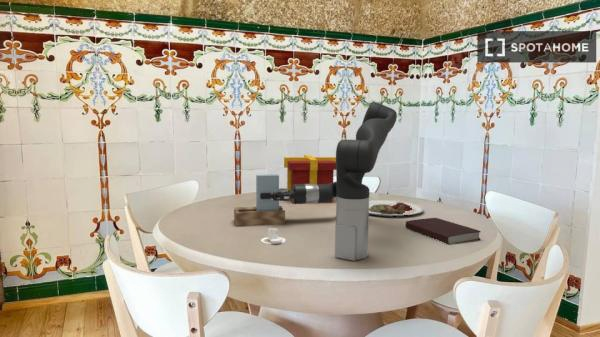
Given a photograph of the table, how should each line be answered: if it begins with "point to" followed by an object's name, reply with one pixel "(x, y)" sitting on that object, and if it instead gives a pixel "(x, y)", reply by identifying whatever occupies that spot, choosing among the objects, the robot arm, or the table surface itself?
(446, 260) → the table surface
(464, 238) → the book
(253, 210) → the slot box
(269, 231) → the teacup and saucer
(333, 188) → the robot arm
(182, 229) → the table surface
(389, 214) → the plated food
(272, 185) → the cover panel
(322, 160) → the gift box
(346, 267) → the table surface
